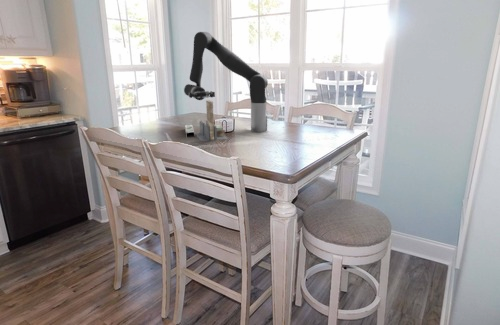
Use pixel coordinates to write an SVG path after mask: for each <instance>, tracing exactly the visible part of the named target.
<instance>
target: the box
mask: <svg viewBox="0 0 500 325" xmlns="http://www.w3.org/2000/svg"><path fill="white" fill-rule="evenodd" d="M184 131H185V134H186V135H185V136H186V137H187V134H189V133H193V136H194V137H196V135H195V133H196V132H195V130H194V126H193V124H190V125H189V124H185V125H184Z"/></svg>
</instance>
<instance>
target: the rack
mask: <svg viewBox="0 0 500 325" xmlns="http://www.w3.org/2000/svg"><path fill="white" fill-rule="evenodd" d="M215 125H216V124H214V140H213V141H221V140H229V139H230V138H229V137H228V136H227V135H225V134H224V136H217V129H216V126H215ZM194 133H195V137H197V138H198V139H199V140H200V141H201V142H207V141H208V142H211V141H212V140H210V130H209V126H207V119H206V121H205V122H204V121H202V120H200V121H199V132H194Z"/></svg>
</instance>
